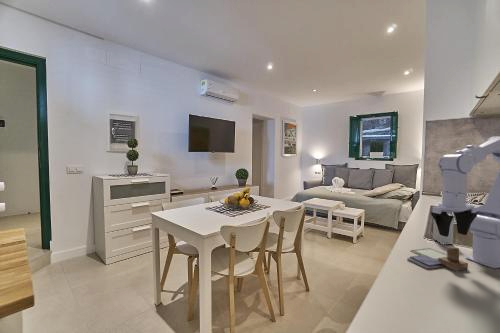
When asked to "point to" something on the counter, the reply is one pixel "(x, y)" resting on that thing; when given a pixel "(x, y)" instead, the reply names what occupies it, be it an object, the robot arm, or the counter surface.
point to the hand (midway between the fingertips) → (453, 234)
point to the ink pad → (425, 262)
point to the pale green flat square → (430, 253)
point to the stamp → (453, 260)
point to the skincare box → (442, 238)
